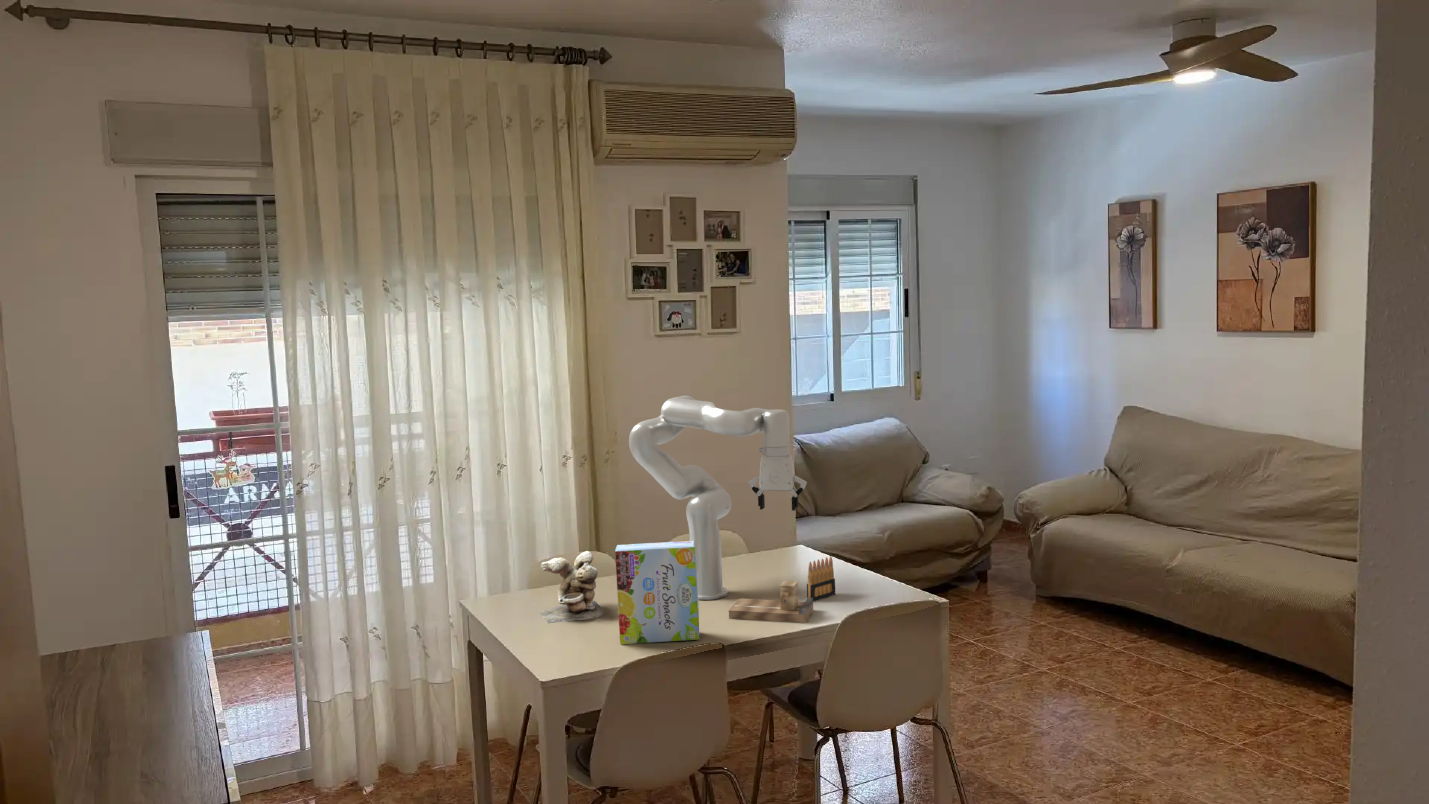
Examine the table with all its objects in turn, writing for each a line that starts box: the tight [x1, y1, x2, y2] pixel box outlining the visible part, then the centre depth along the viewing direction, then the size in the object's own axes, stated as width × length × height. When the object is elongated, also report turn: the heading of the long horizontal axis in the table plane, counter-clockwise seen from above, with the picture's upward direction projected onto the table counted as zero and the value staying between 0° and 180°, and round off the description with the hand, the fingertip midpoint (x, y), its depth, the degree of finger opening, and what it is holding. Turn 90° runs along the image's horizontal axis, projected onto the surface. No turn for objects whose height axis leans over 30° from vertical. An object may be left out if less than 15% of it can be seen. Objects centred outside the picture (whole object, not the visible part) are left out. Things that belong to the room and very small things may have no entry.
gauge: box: [779, 580, 799, 610], centre depth 304 cm, size 4×11×7 cm, turn 164°
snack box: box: [614, 540, 700, 645], centre depth 288 cm, size 22×9×26 cm, turn 93°
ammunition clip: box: [806, 556, 837, 602], centre depth 321 cm, size 11×2×12 cm, turn 131°
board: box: [728, 597, 814, 624], centre depth 307 cm, size 22×12×4 cm, turn 74°
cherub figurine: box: [538, 550, 605, 624], centre depth 314 cm, size 18×18×18 cm
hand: (778, 509), depth 315 cm, fingers open, 9 cm apart
